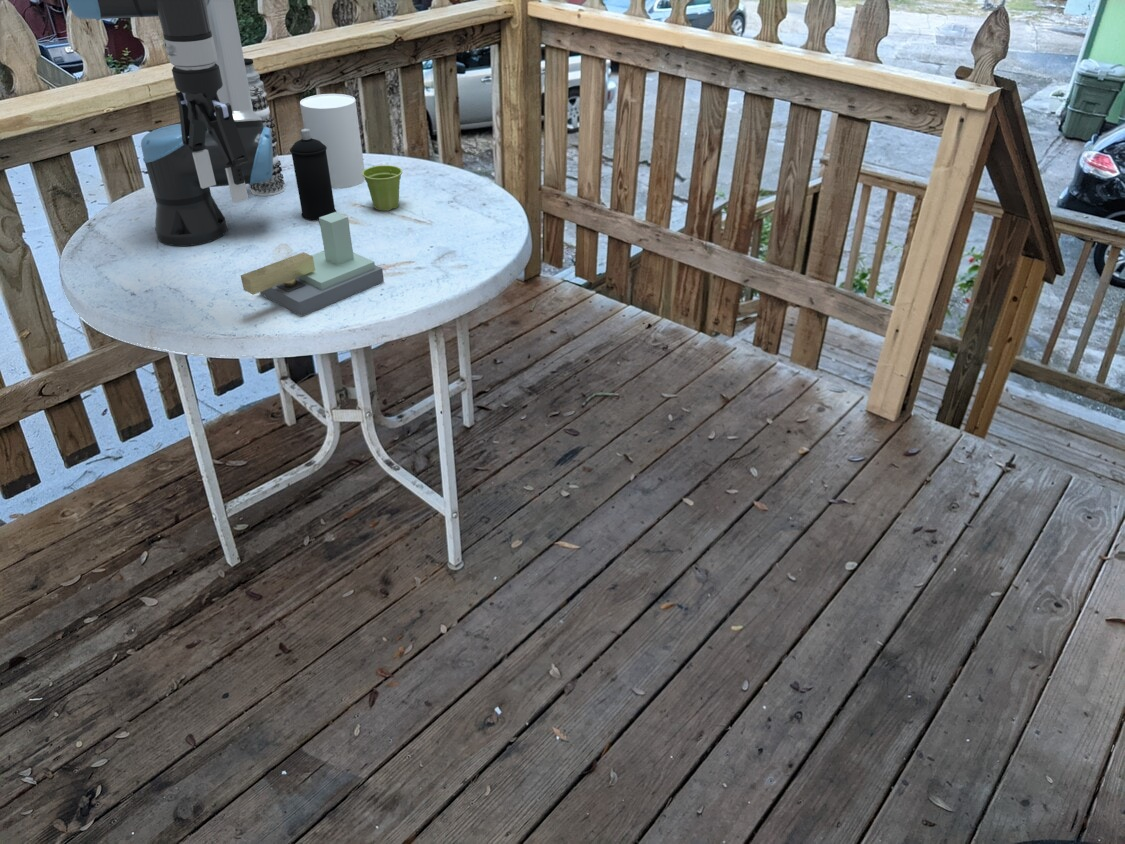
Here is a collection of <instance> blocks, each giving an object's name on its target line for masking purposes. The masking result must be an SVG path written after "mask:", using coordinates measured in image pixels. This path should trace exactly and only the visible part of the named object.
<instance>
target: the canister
mask: <svg viewBox="0 0 1125 844" xmlns="http://www.w3.org/2000/svg"><path fill="white" fill-rule="evenodd" d="M356 101H357V100H356V98H355V97H354V96H352V95H350V94H343V93H323V94H321V93H320V94H315V95H311V96H307V97H305V98H302V99H301V100H300V101H299V105H300V106H299V107H300V111H301V116H302V117H301V119H302V124H303V129H309V130H310V135H311V138H312V139H316V140H318V141H320V142H321V143H323V144H324V145H325V146H326V147H327V149H326V154H327V160H328V167H329V173H330V180H331V186H332V188H334V190H337V188H339V189H346V188H347V187H348V188H352V187H356V186H358V185H360V184H363V182H366V180H365V177H363V175H362V172H363V171H364V170H365V169H366V168H365V163H364V154H363V147H362V140H361V132H360V125H359V117H358V108H357V103H356Z"/></svg>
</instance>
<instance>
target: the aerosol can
mask: <svg viewBox="0 0 1125 844" xmlns="http://www.w3.org/2000/svg"><path fill="white" fill-rule="evenodd" d="M300 134H301V139H299V140H297V141H295V142H294V143H293V145H292V147H291V148H290V149H289V151H290V153H291V157H292V164H293V170H294V174H295V179H296V186H297V191H298V197H299V203H300V209H301V214H300V215H301V217H302V218H303V219H304V218H305V220H307V221H313V220H318V221H319V217H322V216H325V215H328V214H331V213H334V212H337V209H336V206H335V201H334V199H335V198H334V194H333V189H332V186H331V180H330V173H329V167H328V160H327V154H326V149H327V147H326V146H325V145H324V144H323V143H321V142H320V141H318V140H316V139H312V138H311V135H310V130H309V129H304V128H302V129H301V130H300ZM337 213H338V212H337Z"/></svg>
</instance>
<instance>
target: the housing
mask: <svg viewBox="0 0 1125 844" xmlns="http://www.w3.org/2000/svg"><path fill="white" fill-rule="evenodd" d="M296 281H297V285H296V286H294V287H285V286H284V283H282V284H279V285H277V286H274V287H272V288H269V289H267V290H264V291H261V292H259V294H260V295H261V296H263V297H265V298H267V299H269V301H273V302H274V303H276V304H278V305H280V306H282V307H283V308H286V309H288V310H289V311H291V312H293V313H294V314H296V315H298V316H300V317H304V316H306V315H309V314H311V313H314V312H316V311H318V310H320V309H322V308H325V307H328V306H330V305H332V304H335V303H336V302H339V301H341V300H345V299H346V298H348V297H351V296H353V295H356V294H359V293H360V292H363V291H365V290H368V289H370V288H374V286H376V285H379V284H383V283H385V282H384V281H385V279H384V273H383V268H382V267H380V266H378V265H377V264H375V269H373V270H370V271H368V272H365V273H363V274H360V275H358V276H356V277H353V278H351V279H348V280H346V281H343V282H341V283H338V284H336V285H333V286H331V287H329V288H326V289H324V290H321V289H319V288H317V287H315V286H313V285H311V284H309V283H307V282H305V281H303V280H301V279H299V278H296Z"/></svg>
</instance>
